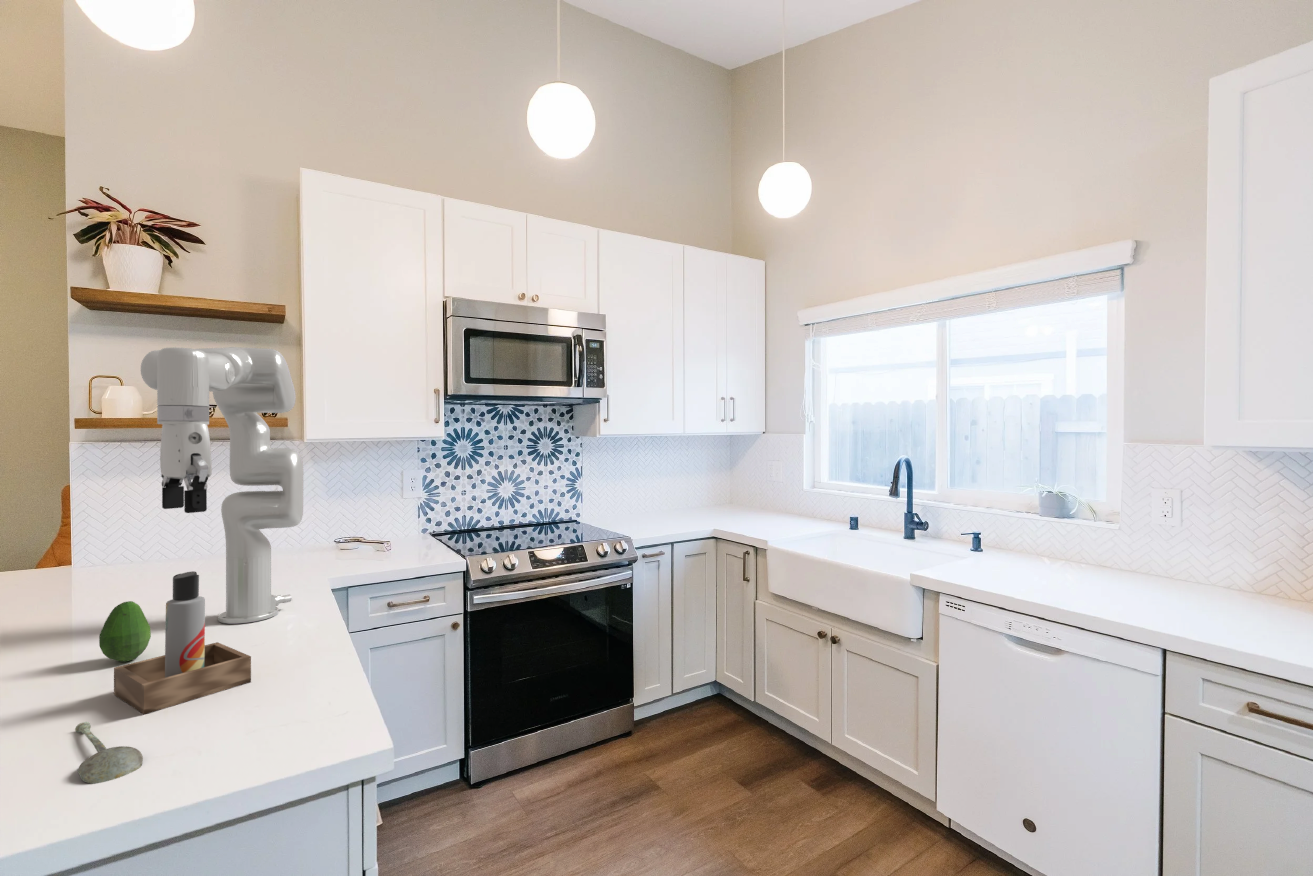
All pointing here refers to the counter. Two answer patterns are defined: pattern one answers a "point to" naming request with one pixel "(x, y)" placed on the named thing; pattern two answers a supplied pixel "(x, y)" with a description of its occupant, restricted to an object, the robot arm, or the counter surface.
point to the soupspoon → (107, 760)
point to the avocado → (125, 632)
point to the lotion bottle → (185, 626)
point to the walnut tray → (180, 679)
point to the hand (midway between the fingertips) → (184, 510)
